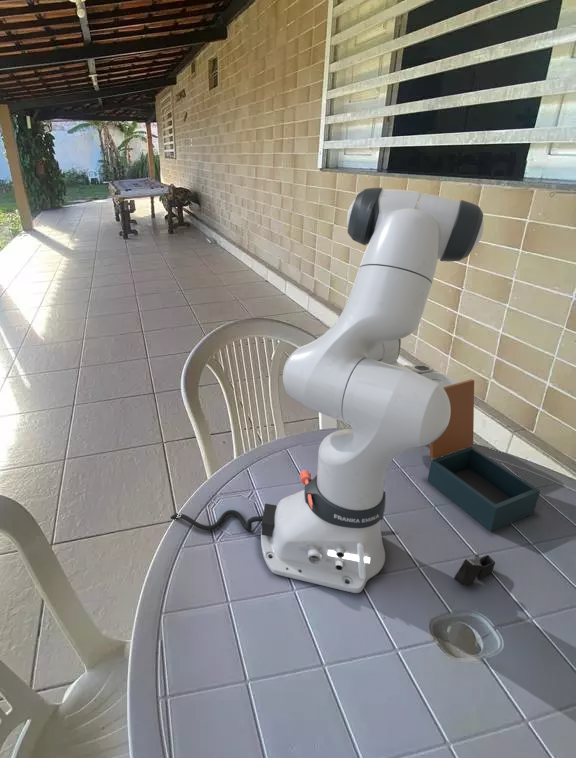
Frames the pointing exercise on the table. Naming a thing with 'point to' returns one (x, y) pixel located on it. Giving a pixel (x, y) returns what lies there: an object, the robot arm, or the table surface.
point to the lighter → (474, 569)
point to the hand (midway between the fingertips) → (449, 412)
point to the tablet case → (474, 501)
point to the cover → (457, 420)
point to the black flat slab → (482, 486)
